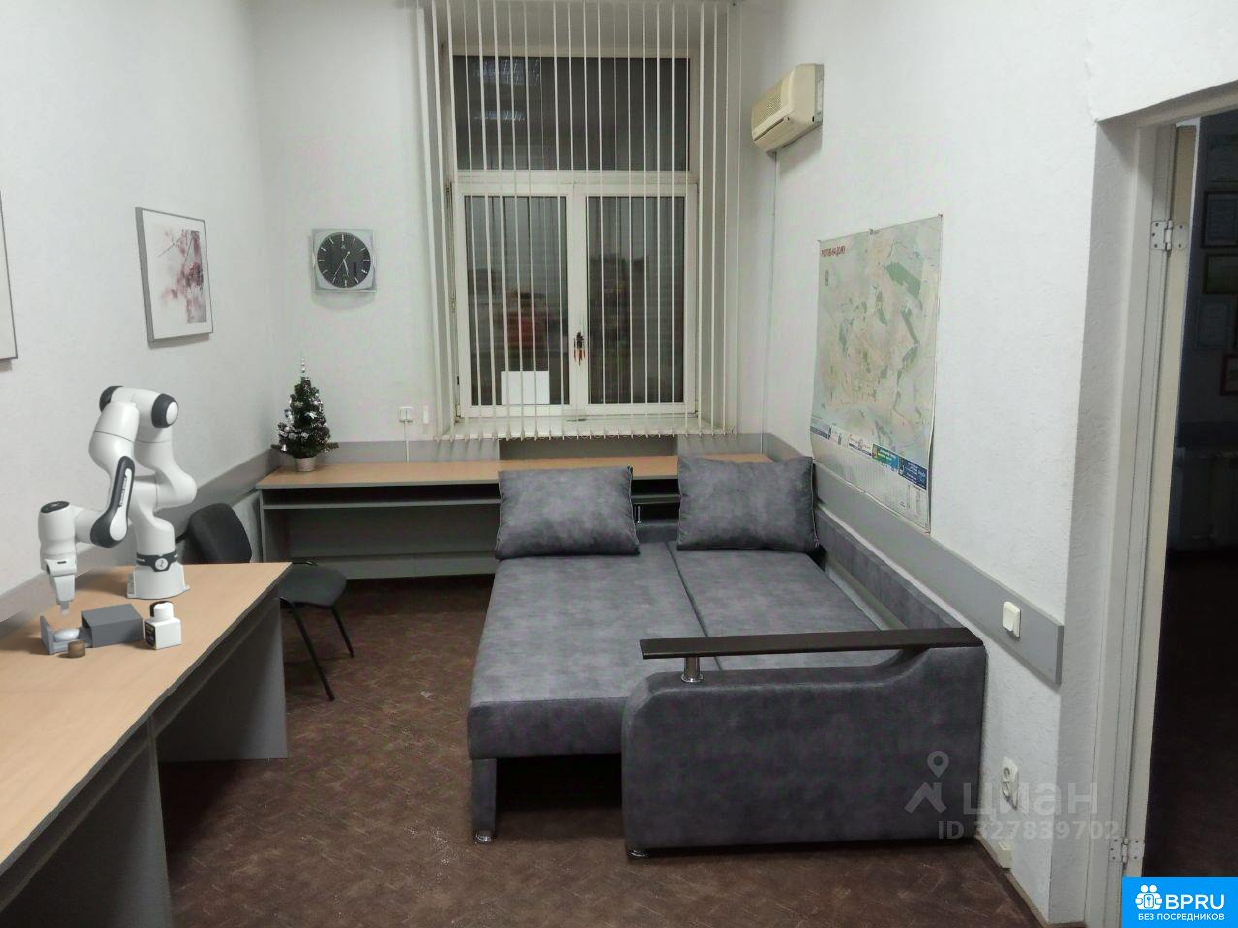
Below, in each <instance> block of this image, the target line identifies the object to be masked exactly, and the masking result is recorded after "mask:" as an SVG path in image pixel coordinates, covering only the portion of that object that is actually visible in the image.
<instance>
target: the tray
mask: <svg viewBox="0 0 1238 928" xmlns="http://www.w3.org/2000/svg"><path fill="white" fill-rule="evenodd" d="M39 623H40V637H41V640H42V642H43V644H44V646H45V648H46V650H47V651H48V652H47V653H49V655H50V656H51V655H55V653H56V654H57V653H59V652H68V643H70V642H72V641H84V642H85V648H89V647H90V648H91V647H92V633H91V627H90V628H84V626H82V625H81V626H80V628H78V629H79V631H80V638H79V639H77V640H71V641H65V642H59V643H57V642H54V638H53V633H54V632H53V629H52V628H51V625H50V623H49V622H48V620H47V618H46V616H45V615H43V614H42V615H39Z"/></svg>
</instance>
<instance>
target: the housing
mask: <svg viewBox="0 0 1238 928" xmlns="http://www.w3.org/2000/svg"><path fill="white" fill-rule="evenodd" d="M80 616H81V626H84V628H90V627H91V633H92V646H91V647H92V649H95V648H100V647H106V646H107V647H108V646H112V645H119V644H125V643H129V642H135V641H140V640H141V641H142V640H145V627H144V617H143V616H142V615H141V614H140V613H139V611H138V610H137V609H136V608H135V607H134V606H133V604H132V603H125V604H117V605H112V606H111V605H110V606H104V607H98V608H91V609H83V610H81V611H80Z"/></svg>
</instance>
